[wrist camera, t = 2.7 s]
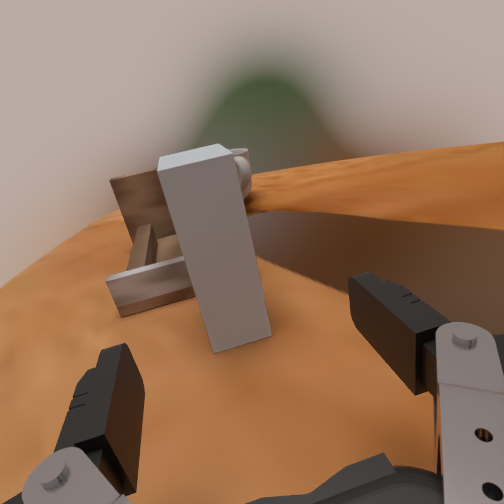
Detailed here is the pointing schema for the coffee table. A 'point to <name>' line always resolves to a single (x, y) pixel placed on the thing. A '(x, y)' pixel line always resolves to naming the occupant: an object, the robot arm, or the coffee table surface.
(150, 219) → the track block
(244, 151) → the teacup
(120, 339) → the coffee table surface
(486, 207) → the coffee table surface
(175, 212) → the tall grey pillar
